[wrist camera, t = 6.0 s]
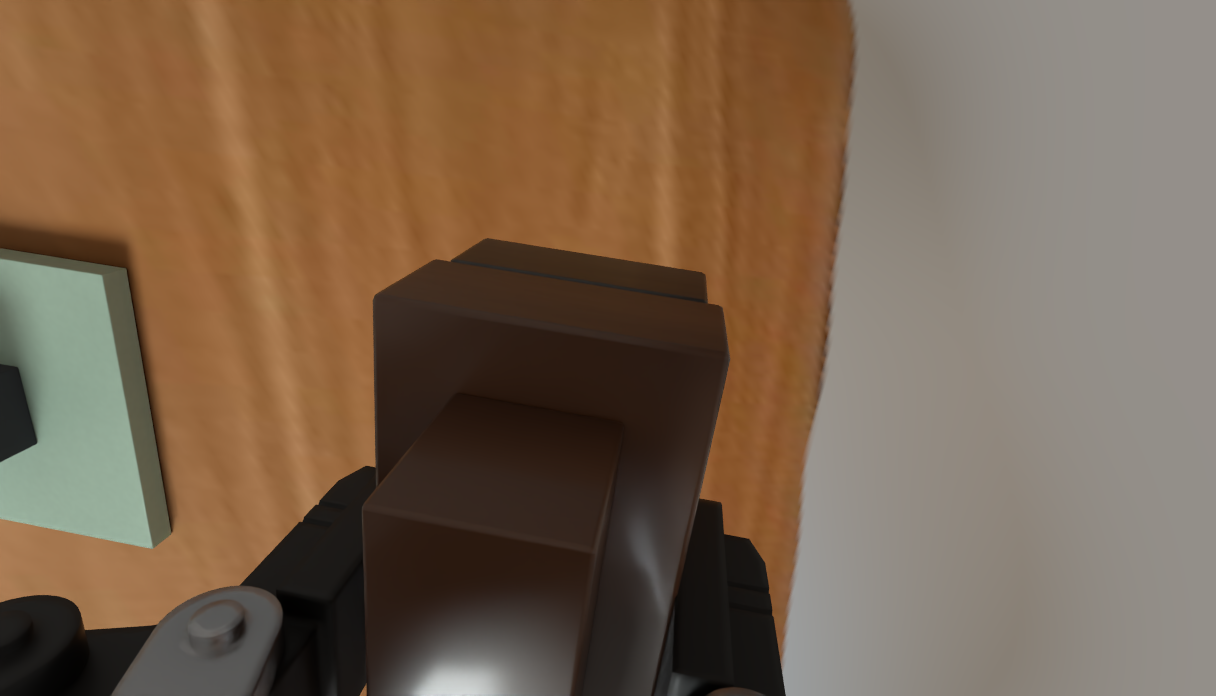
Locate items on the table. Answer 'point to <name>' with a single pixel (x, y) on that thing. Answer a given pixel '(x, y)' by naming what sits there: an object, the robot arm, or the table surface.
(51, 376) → the tray
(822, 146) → the table surface
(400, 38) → the table surface
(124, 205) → the table surface
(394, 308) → the brown stepped block
